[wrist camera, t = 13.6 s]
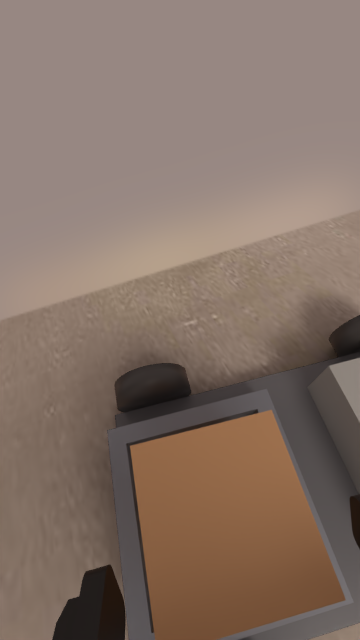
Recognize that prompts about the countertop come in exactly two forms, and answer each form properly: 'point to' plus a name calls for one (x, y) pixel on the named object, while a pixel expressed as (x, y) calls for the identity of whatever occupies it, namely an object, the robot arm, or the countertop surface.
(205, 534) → the orange rectangular block
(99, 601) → the robot arm
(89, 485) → the countertop surface
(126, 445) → the toy car chassis
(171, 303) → the countertop surface
